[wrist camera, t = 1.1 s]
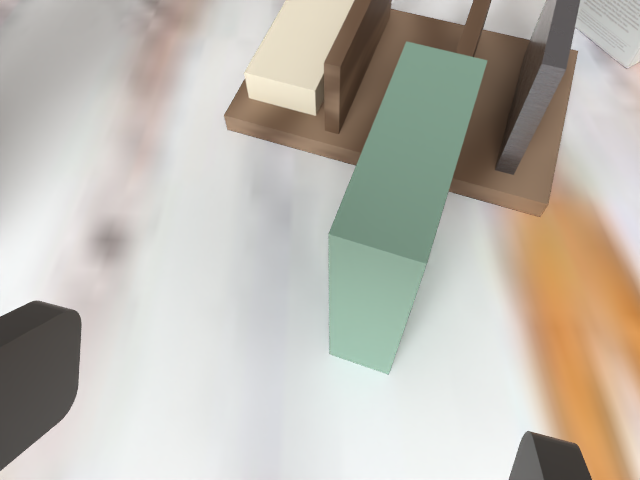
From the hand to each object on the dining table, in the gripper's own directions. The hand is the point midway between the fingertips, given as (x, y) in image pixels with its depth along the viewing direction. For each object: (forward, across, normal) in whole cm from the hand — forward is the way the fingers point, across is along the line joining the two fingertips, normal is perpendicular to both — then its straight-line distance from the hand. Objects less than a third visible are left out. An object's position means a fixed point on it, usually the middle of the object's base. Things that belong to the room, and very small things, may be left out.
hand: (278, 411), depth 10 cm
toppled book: (+33, +9, -7) cm, 35 cm away
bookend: (+33, -7, -6) cm, 34 cm away
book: (+24, -1, +6) cm, 24 cm away
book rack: (+34, +1, -6) cm, 34 cm away
